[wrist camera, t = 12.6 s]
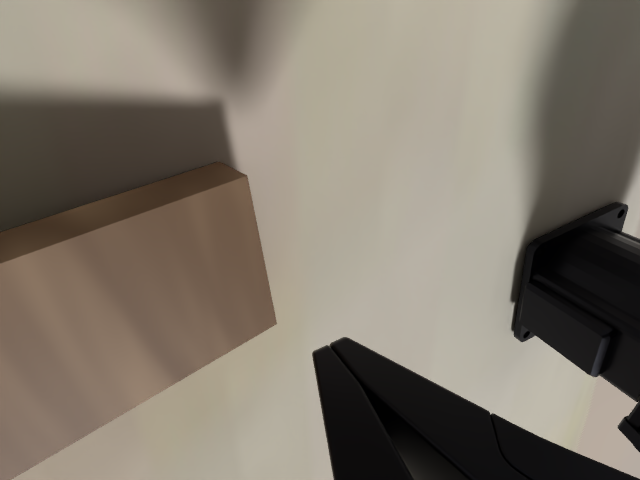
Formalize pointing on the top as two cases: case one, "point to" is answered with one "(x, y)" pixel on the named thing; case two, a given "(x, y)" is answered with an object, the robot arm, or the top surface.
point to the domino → (122, 305)
